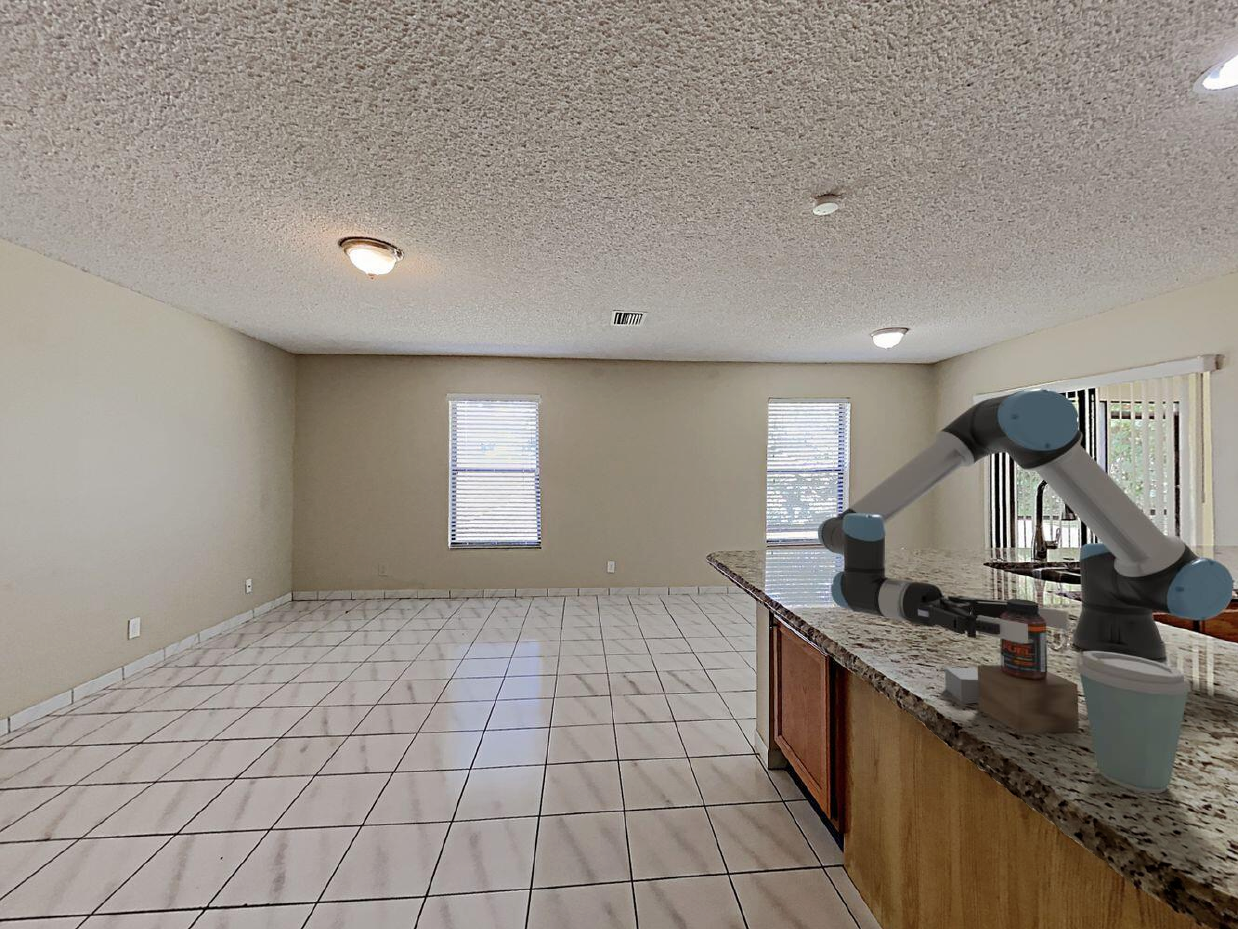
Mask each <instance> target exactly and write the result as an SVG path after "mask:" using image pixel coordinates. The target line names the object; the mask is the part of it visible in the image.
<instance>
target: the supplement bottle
mask: <svg viewBox="0 0 1238 929" xmlns="http://www.w3.org/2000/svg"><path fill="white" fill-rule="evenodd" d="M1006 601H1007V608H1008V610H1007V611H1006V612H1005V613H1003V614H1002V615H1001V617H1000V618H999V619H1003V620H1008V621H1014V622H1019V623H1025V624H1028V643H1026V644H1025V643H1020V642H1016V641H1011V640H1006V639H1001V638H999V639H1000V641H999V642H1000V644H999V645H1000V647H999V648H1000V649H999V650H1000V665H1001V669H1002V670H1003V671H1004V672H1005V673H1007V674H1009V675H1011V676H1014V677H1018V678H1023V679H1030V680H1039V679H1043V678H1046V676H1047V671H1048V654H1047V653H1048V646H1047V639H1048V637H1047V634H1048V633H1047V626H1046V621H1045V619H1044V618H1043V617H1041V616H1040V615H1039V614H1038V611H1039V610H1038V607H1039V603H1038V602H1037V601H1034V600H1029V599H1023V598H1022V599H1021V598H1009V599H1007V600H1006Z"/></svg>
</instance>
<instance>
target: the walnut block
mask: <svg viewBox="0 0 1238 929" xmlns="http://www.w3.org/2000/svg"><path fill="white" fill-rule="evenodd" d="M977 668H978V699H979V703H978V710H980V711H981V712H983V713H985V714H986V715H988V716H990V717H992V719H995V720H996V721H998V722H1000V724H1003V725H1004V726H1006V727H1008V728H1009V729H1012V730H1013V731H1014V732H1016V733H1018V734H1021V735H1022V734H1054V733H1055V734H1056V733H1059V734H1060V733H1062V734H1064V733H1080V722H1079V719H1080V718H1079V717H1080V716H1079V693H1078V692H1079V691H1078V690H1079V689H1078V686H1079V685H1078V684H1077V683H1075V682H1074V681H1071V680H1069V679H1067V678H1064V677H1062V676H1059V675H1057V674H1055V673H1052V672H1050V671H1048V670H1047V676H1046V678H1043V679H1039V680H1030V679H1023V678H1018V677H1014V676H1011V675H1009V674H1007V673H1005V672H1004V671H1003V670H1002V669H1001V664H993V665H992V664H989V665H987V664H986V665H984V664H983V665H977Z"/></svg>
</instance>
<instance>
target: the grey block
mask: <svg viewBox="0 0 1238 929" xmlns="http://www.w3.org/2000/svg"><path fill="white" fill-rule="evenodd" d="M944 671H945V672H944V674H945V675H944V676H945V690H946V691H947V692H948V693H950V694H951V695H952V696H953V697H955V698H956V699H957V700H958V701H959V702H961V703H970V704H972V703H973V704H975V703H976V704H979V699H978V667H977V668H975V667H974V668H973V667H972V668H970V667H945V668H944Z"/></svg>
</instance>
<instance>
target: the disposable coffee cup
mask: <svg viewBox="0 0 1238 929" xmlns="http://www.w3.org/2000/svg"><path fill="white" fill-rule="evenodd" d="M1076 673H1079V676H1080V681H1081V686H1082V692H1083V698H1084V703H1085V706H1086V707H1085V708H1086V713H1087V718H1088V725H1089V730H1090V736H1091V741H1092V746H1093V751H1094V756H1095V763H1096V768H1098V770H1099V774H1100V776H1102V777H1104V778H1105V779H1106V780H1107V781H1108V782H1111V783H1113V784H1116V785H1117V786H1120V787H1123V788H1125V789H1128V790H1131V789H1132V791H1135V790H1136V792H1138V793H1139V792H1140V793H1143V792H1144V794H1145V792H1146V794H1157V793H1158V794H1160V793H1163V792H1166V791H1167V788H1168V786H1170V784H1171V779H1172V774H1173V770H1174V764H1175V760H1176V755H1177V749H1178V744H1179V739H1180V735H1181V731H1182V730H1181V729H1182V725H1183V719H1184V716H1185V715H1184V714H1185V709H1186V705H1187V700H1188V695H1189V693H1190V692H1192V689H1191V683H1190V681H1189V680H1188V677H1187V676H1186V675H1185V674H1184V673H1182V671H1181V670H1180V669H1177V668H1176V667H1173V666H1170V665H1168V664H1166V663H1162V662H1159V661H1155V660H1153V659H1144V658H1141V657H1135V656H1130V655H1124V654H1119V653H1112V652H1102V651H1089V650H1086V651H1082V656H1081V657H1079V658H1078V659H1077V664H1076Z"/></svg>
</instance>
